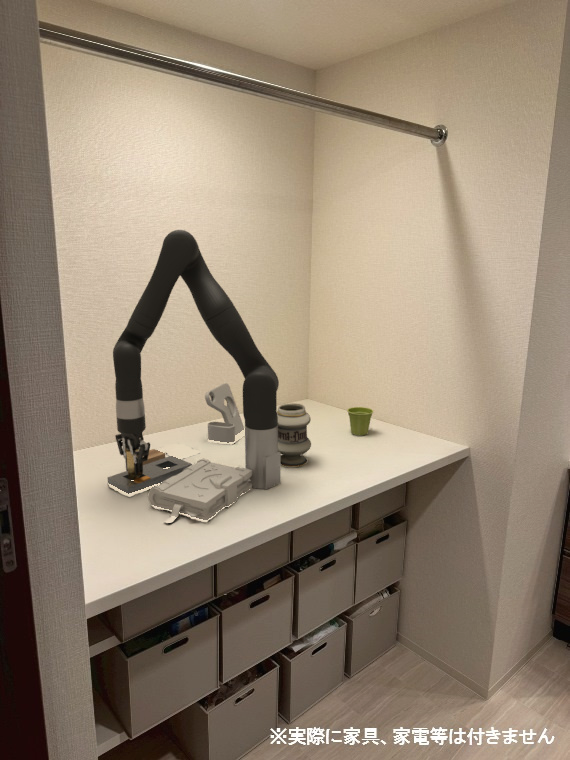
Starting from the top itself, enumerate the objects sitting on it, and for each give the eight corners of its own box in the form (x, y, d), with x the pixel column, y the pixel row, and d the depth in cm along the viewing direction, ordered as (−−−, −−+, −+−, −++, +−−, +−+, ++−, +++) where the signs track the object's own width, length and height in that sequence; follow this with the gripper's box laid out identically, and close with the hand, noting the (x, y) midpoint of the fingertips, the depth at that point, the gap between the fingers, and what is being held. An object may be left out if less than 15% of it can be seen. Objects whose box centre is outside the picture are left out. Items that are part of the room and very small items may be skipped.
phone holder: (231, 446, 186) (230, 395, 182) (204, 442, 190) (203, 392, 185) (251, 430, 202) (251, 383, 198) (226, 427, 205) (225, 381, 201)
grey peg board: (192, 473, 163) (192, 462, 163) (128, 497, 147) (127, 486, 146) (171, 464, 170) (171, 454, 169) (108, 487, 154) (107, 476, 153)
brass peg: (144, 476, 154) (142, 450, 152) (133, 480, 151) (131, 453, 149) (136, 473, 156) (134, 447, 154) (125, 477, 154) (123, 450, 152)
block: (165, 462, 172) (165, 453, 171) (138, 471, 164) (137, 462, 164) (154, 457, 175) (153, 448, 175) (127, 466, 168) (126, 457, 167)
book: (134, 517, 137) (132, 489, 135) (198, 476, 162) (198, 452, 160) (197, 536, 129) (197, 506, 127) (255, 490, 154) (256, 465, 152)
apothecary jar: (264, 461, 173) (264, 406, 169) (291, 451, 181) (291, 399, 177) (292, 471, 165) (292, 414, 160) (318, 461, 173) (319, 406, 169)
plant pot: (345, 428, 204) (346, 406, 202) (371, 429, 204) (371, 406, 202) (347, 437, 195) (348, 414, 193) (373, 437, 195) (374, 414, 193)
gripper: (157, 415, 148) (160, 475, 152) (127, 406, 157) (131, 462, 161) (133, 422, 142) (137, 483, 146) (104, 411, 151) (108, 470, 155)
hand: (134, 472), depth 153 cm, fingers closed on brass peg, 3 cm apart
